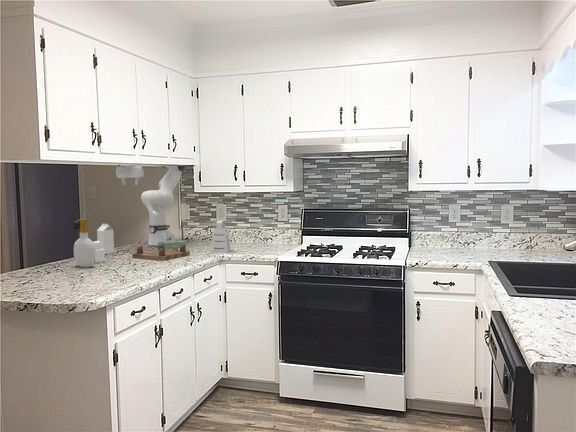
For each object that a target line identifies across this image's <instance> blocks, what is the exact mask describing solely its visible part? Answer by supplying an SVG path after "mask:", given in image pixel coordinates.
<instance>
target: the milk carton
mask: <svg viewBox="0 0 576 432" xmlns="http://www.w3.org/2000/svg"><path fill="white" fill-rule="evenodd" d="M96 233H97V234H96V235H97V236H96V237H97V239H96V240H97V241H100V242H101V248H100V249H104V253H105V255H110V254H114V253H115V240H114V239H115V238H114V235H115V234H114V229H113V228H112V227H111V226H110V225H109V224H108V223H101V226H99V228H97V229H96Z"/></svg>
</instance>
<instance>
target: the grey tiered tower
mask: <svg viewBox="0 0 576 432" xmlns="http://www.w3.org/2000/svg"><path fill="white" fill-rule="evenodd" d="M225 222H226V221H225V220H217V221H216V223H215V225H216V227H213V230H212V232H213V233H212V240H211V248H210V249H211V250H210V253H213V254H218V253H219V254H222V253H223V254H227V253H229V252H230V251H231V249H232V248H231V242H230V241H231V240H230V235H229V228H228V226H226V224H225Z"/></svg>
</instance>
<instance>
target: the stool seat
mask: <svg viewBox="0 0 576 432" xmlns="http://www.w3.org/2000/svg"><path fill="white" fill-rule="evenodd" d="M131 255H132V259H139V260H141V259H143V260H148V259H149V260H150V261H159V262H160V261H161V262H165V261H169V260H173V259H177V258H183V257H188V256H190V255H191V251H190V250H187V245H186V244H185V245H180V248H178V247H175V246H172V247H171V249H165V248H160V249H158V248H157V249H151V250H150V249H149V250H146V251H145V250H144V246H141V245H140V246H136V252H135V253H131ZM164 260H165V261H164Z"/></svg>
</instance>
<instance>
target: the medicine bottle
mask: <svg viewBox="0 0 576 432" xmlns="http://www.w3.org/2000/svg"><path fill="white" fill-rule="evenodd" d="M91 241H92V242H93V243H94V246H95V259H94V263H93V264H98V263H103V262H106V260H105V259H106V258H105V256H106V254H105V253H104V249H100V248H101V242H100V241H98V240H91Z"/></svg>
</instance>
